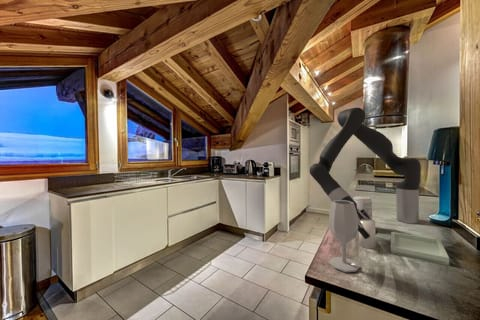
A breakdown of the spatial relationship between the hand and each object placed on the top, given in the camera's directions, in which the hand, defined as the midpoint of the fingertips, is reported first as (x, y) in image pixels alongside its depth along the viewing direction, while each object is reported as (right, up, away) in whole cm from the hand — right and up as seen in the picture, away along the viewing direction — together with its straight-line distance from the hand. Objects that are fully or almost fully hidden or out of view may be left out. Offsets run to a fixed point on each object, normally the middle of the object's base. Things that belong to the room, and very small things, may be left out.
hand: (371, 235), depth 79 cm
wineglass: (-17, -5, -12) cm, 22 cm away
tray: (+15, -4, -3) cm, 16 cm away
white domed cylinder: (-1, -4, +2) cm, 5 cm away
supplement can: (+9, -4, +21) cm, 23 cm away
